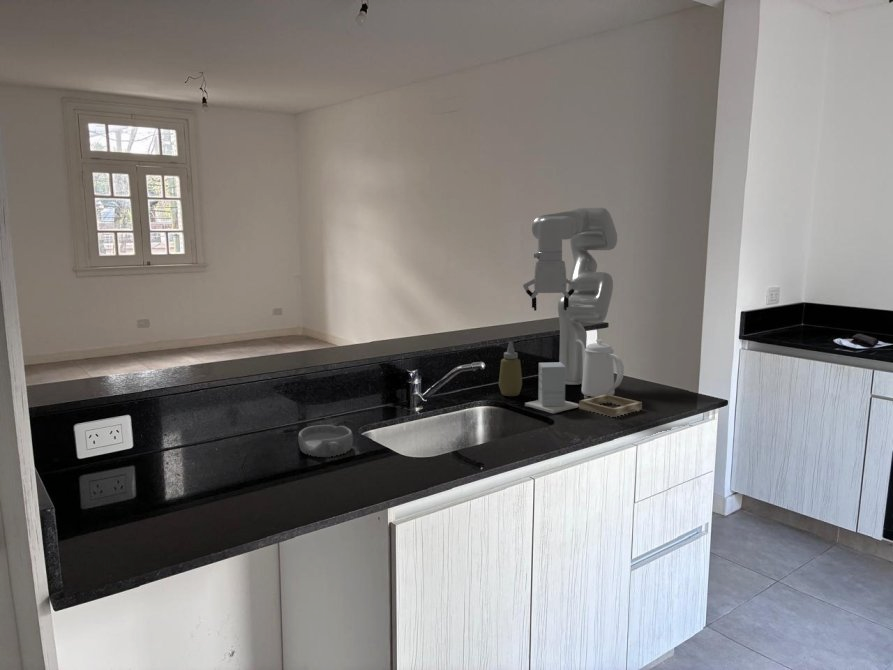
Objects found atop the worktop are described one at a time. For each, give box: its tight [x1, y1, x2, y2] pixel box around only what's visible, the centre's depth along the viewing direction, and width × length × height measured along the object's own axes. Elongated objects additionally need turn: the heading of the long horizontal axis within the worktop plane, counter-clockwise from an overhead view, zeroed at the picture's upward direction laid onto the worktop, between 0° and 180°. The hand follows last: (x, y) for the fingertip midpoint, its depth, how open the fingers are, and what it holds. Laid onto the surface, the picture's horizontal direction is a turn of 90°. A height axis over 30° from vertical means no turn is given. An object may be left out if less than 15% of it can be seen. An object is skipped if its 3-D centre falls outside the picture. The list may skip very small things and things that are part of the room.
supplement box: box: [537, 361, 566, 406], centre depth 209 cm, size 7×7×13 cm
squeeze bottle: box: [498, 341, 523, 397], centre depth 223 cm, size 8×8×18 cm
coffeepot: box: [576, 338, 625, 398], centre depth 223 cm, size 11×25×19 cm, turn 25°
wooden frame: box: [578, 394, 643, 418], centre depth 205 cm, size 13×13×2 cm
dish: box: [297, 424, 354, 458], centre depth 170 cm, size 14×14×5 cm
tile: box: [524, 399, 579, 414], centre depth 210 cm, size 12×12×1 cm
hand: (550, 309), depth 216 cm, fingers open, 9 cm apart
